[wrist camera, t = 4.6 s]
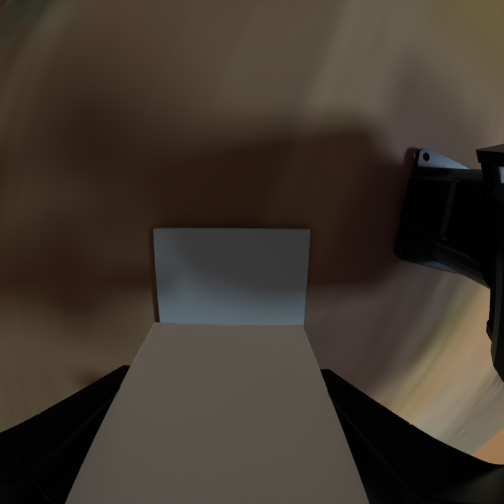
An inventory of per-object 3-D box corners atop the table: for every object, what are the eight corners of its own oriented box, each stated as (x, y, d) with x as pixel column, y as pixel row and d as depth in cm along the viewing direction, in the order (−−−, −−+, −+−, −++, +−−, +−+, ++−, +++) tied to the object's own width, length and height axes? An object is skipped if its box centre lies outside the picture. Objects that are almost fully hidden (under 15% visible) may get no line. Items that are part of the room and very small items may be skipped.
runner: (155, 227, 16) (153, 229, 15) (308, 229, 16) (310, 230, 16) (198, 516, 23) (198, 519, 22) (274, 517, 23) (275, 520, 23)
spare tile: (154, 322, 10) (53, 534, 2) (302, 324, 10) (385, 550, 2) (159, 361, 10) (88, 563, 3) (298, 363, 11) (356, 574, 3)
